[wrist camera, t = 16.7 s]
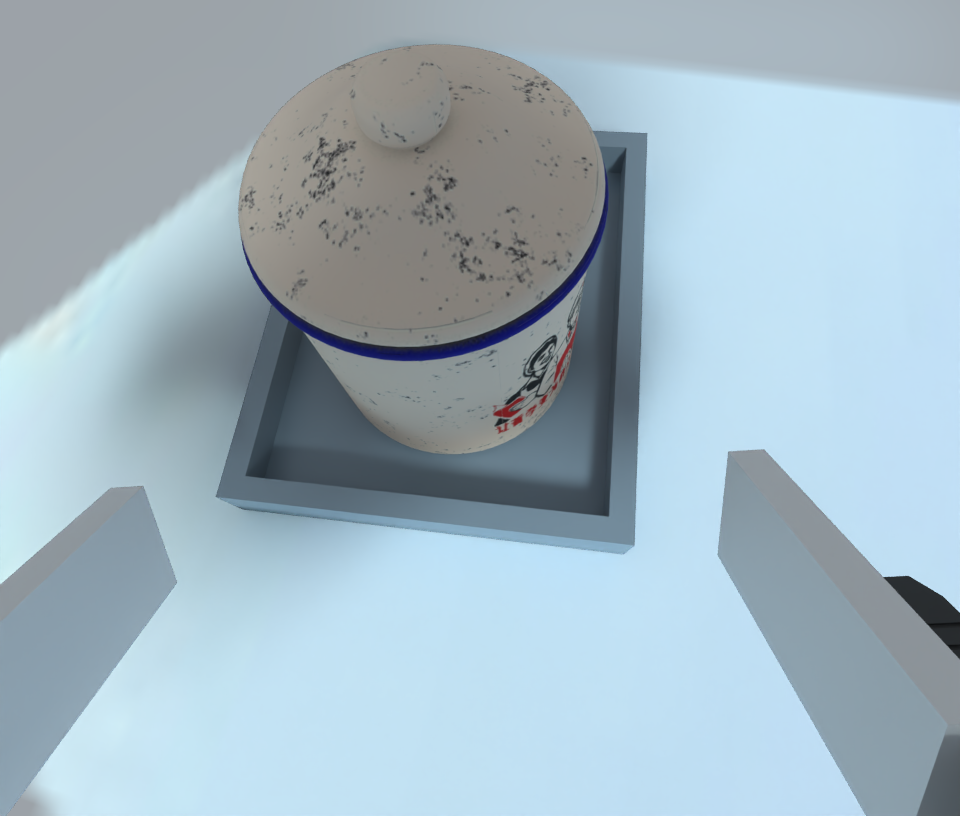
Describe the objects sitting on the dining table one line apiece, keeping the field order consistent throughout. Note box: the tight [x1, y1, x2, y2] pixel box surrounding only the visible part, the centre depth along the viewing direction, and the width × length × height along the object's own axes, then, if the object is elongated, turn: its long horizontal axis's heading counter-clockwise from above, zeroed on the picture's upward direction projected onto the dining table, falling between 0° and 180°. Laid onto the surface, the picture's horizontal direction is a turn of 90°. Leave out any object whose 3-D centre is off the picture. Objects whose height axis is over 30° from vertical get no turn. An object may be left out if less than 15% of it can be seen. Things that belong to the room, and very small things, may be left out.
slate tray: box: [216, 131, 647, 554], centre depth 22 cm, size 14×17×2 cm
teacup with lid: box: [238, 45, 609, 454], centre depth 17 cm, size 12×9×12 cm
